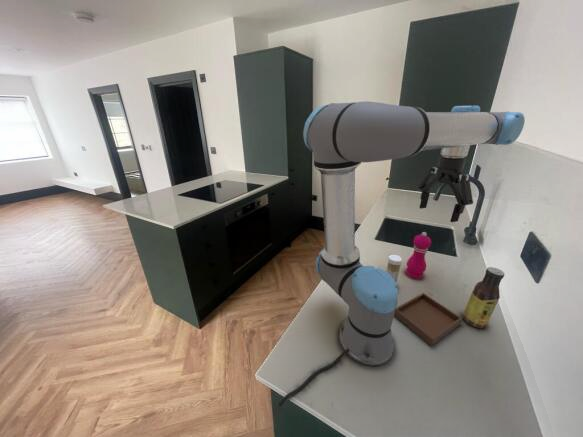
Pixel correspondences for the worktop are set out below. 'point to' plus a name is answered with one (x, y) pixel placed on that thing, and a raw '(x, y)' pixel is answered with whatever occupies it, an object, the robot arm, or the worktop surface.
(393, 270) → the sprinkles bottle
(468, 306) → the sauce bottle
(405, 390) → the worktop surface
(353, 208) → the robot arm
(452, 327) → the serving tray
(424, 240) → the pepper mill
